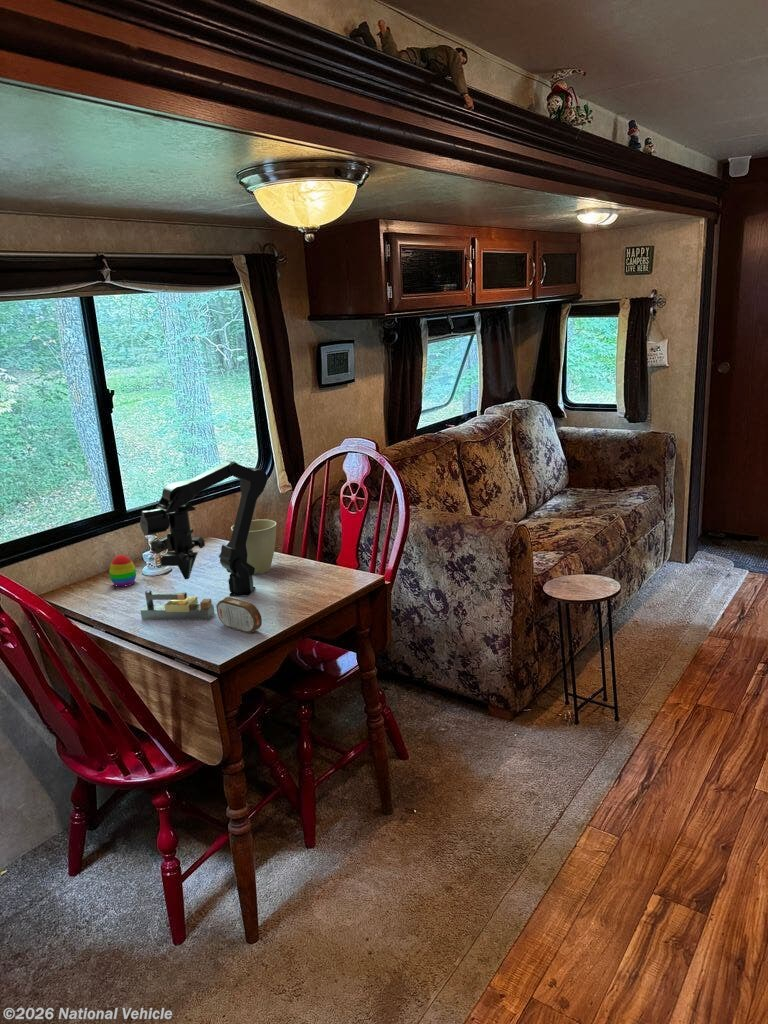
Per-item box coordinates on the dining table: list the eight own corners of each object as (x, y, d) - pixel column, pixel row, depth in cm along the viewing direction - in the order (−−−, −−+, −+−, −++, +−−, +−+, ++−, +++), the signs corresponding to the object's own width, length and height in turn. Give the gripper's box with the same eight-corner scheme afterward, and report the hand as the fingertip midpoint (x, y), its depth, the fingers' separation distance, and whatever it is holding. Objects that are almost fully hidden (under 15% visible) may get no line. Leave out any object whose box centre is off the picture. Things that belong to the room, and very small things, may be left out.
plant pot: (286, 563, 244) (281, 518, 240) (273, 578, 230) (268, 531, 226) (244, 563, 246) (239, 519, 242) (229, 578, 232) (224, 531, 228)
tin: (264, 632, 189) (261, 603, 187) (255, 637, 186) (252, 607, 184) (225, 621, 197) (221, 593, 195) (216, 625, 195) (213, 597, 193)
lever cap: (198, 602, 204) (197, 596, 204) (189, 611, 198) (188, 605, 197) (175, 602, 205) (174, 596, 204) (165, 611, 199) (164, 605, 198)
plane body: (214, 613, 203) (212, 597, 202) (208, 620, 199) (206, 603, 198) (148, 613, 206) (146, 597, 205) (141, 620, 202) (139, 603, 200)
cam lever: (188, 605, 202) (186, 590, 201) (185, 607, 200) (183, 592, 199) (148, 605, 204) (146, 590, 202) (146, 607, 202) (143, 592, 201)
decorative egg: (107, 589, 228) (103, 559, 226) (116, 580, 236) (111, 552, 233) (133, 587, 228) (128, 558, 226) (140, 578, 236) (136, 550, 234)
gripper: (166, 519, 212) (173, 568, 216) (138, 537, 194) (146, 590, 198) (202, 518, 211) (208, 567, 215) (177, 537, 193) (184, 590, 197)
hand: (186, 578), depth 206 cm, fingers closed
